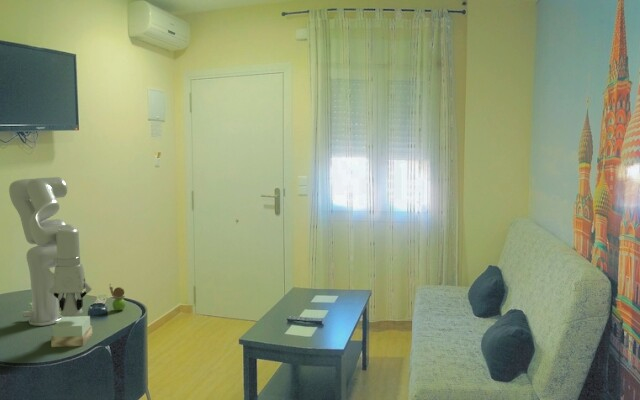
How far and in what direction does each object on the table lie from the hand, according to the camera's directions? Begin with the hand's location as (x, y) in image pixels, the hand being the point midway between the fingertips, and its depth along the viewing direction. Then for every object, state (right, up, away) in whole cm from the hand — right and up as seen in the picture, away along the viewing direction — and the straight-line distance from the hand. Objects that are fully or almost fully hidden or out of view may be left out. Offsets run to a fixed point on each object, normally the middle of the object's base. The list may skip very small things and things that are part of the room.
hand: (71, 308), depth 194 cm
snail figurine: (+4, -8, +35) cm, 36 cm away
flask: (0, -2, 0) cm, 2 cm away
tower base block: (-1, -13, +2) cm, 13 cm away
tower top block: (0, -9, +1) cm, 9 cm away
